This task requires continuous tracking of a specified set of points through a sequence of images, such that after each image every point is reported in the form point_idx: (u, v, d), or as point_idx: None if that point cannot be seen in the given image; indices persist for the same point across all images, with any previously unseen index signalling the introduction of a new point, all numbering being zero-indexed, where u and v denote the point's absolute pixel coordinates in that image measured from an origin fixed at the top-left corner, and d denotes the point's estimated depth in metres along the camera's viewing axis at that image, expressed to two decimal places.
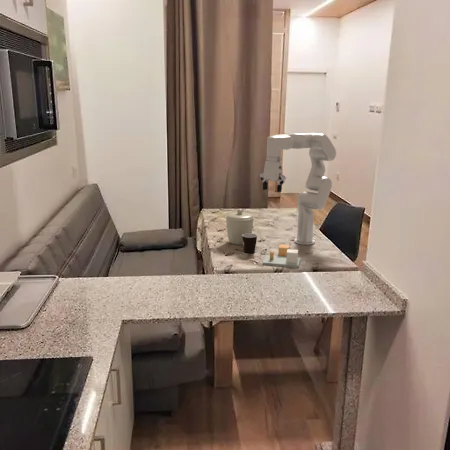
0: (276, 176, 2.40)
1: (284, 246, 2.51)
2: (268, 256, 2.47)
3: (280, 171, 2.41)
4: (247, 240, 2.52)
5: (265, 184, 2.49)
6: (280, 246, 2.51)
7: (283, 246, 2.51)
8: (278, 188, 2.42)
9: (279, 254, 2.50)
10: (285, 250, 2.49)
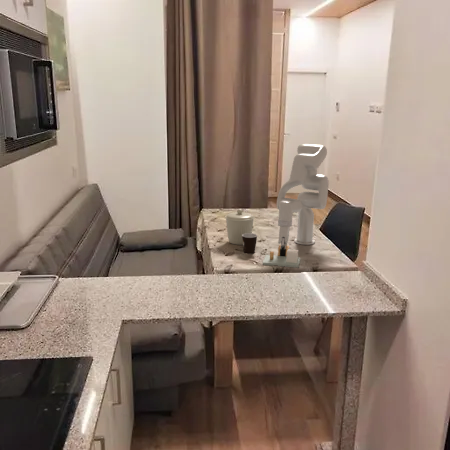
0: None
1: None
2: (268, 256, 2.47)
3: None
4: (247, 240, 2.52)
5: None
6: (280, 247, 2.50)
7: None
8: None
9: (279, 255, 2.49)
10: None
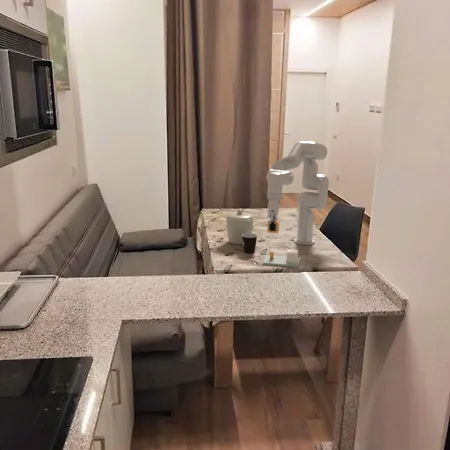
0: None
1: None
2: (268, 256, 2.47)
3: None
4: (247, 240, 2.52)
5: None
6: (269, 221, 2.38)
7: None
8: None
9: (268, 229, 2.37)
10: None
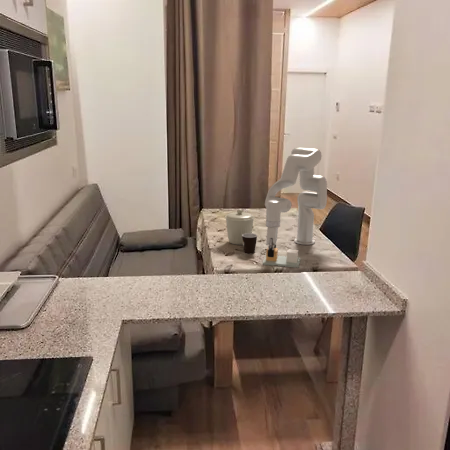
0: None
1: None
2: None
3: None
4: (247, 240, 2.52)
5: None
6: None
7: None
8: None
9: (267, 257, 2.41)
10: None
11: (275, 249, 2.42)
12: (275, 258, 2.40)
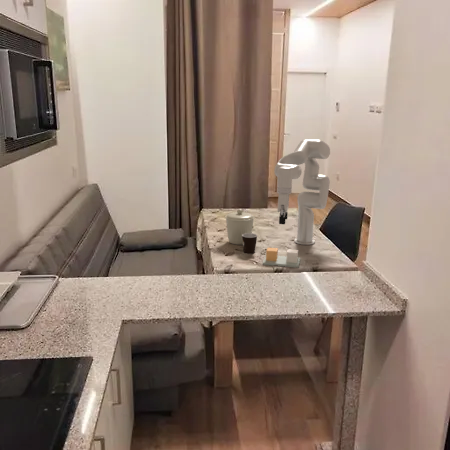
0: None
1: (272, 249, 2.42)
2: None
3: None
4: (247, 240, 2.52)
5: None
6: (268, 249, 2.41)
7: (271, 249, 2.41)
8: None
9: (267, 257, 2.41)
10: (273, 253, 2.39)
11: (275, 249, 2.42)
12: (275, 258, 2.40)
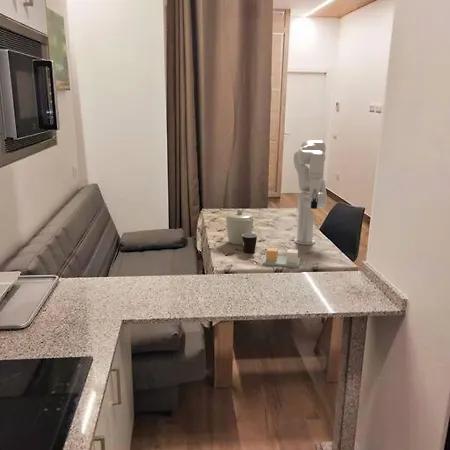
0: None
1: (272, 249, 2.42)
2: None
3: None
4: (247, 240, 2.52)
5: None
6: (268, 249, 2.41)
7: (271, 249, 2.41)
8: None
9: (267, 257, 2.41)
10: (273, 253, 2.39)
11: (275, 249, 2.42)
12: (275, 258, 2.40)
